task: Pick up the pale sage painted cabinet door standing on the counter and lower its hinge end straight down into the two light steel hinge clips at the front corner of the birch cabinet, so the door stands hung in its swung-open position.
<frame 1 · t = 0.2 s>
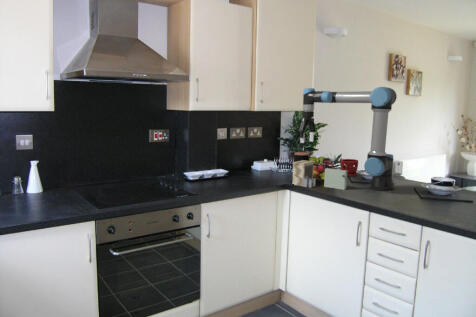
hand: (306, 142, 271), 28 cm above the worktop, tool pointing down, fingers open, 13 cm apart
cabinet: (302, 183, 267), on the worktop
hinge clips: (309, 186, 259), on the worktop
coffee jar: (300, 177, 290), on the worktop
cabinet door: (335, 187, 256), on the worktop
plant pot: (348, 175, 303), on the worktop
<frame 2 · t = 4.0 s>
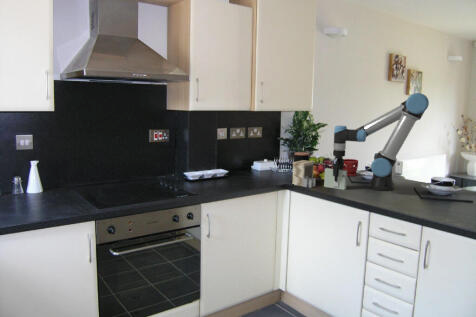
hand: (337, 185, 255), 2 cm above the worktop, tool pointing down, fingers closed on cabinet door, 3 cm apart
cabinet door: (334, 187, 256), on the worktop, touching gripper
everything else where it was.
when the fingers open (3 cm above the worktop, at t = 9.1 s): cabinet door drops 2 cm, on the worktop.
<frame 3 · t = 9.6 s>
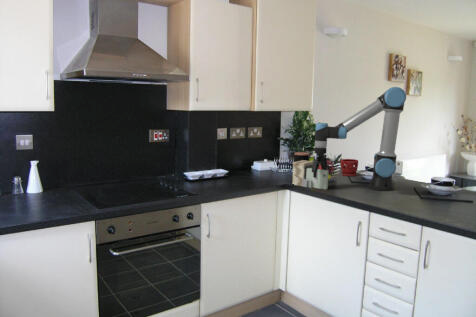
hand: (319, 181, 254), 4 cm above the worktop, tool pointing down, fingers open, 10 cm apart
cabinet door: (316, 187, 256), on the worktop
everything else where it was.
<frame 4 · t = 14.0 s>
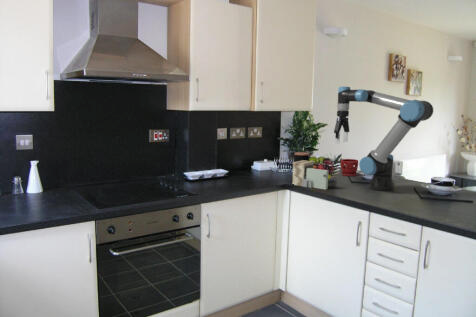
hand: (341, 142, 262), 29 cm above the worktop, tool pointing down, fingers open, 13 cm apart
nothing on the worktop moved.
at the end: cabinet door 0.2 cm from the target spot on the hinge clips, point 0.0 cm above the hinge clips's base; cabinet door tilted 0°; the gripper is holding nothing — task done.
